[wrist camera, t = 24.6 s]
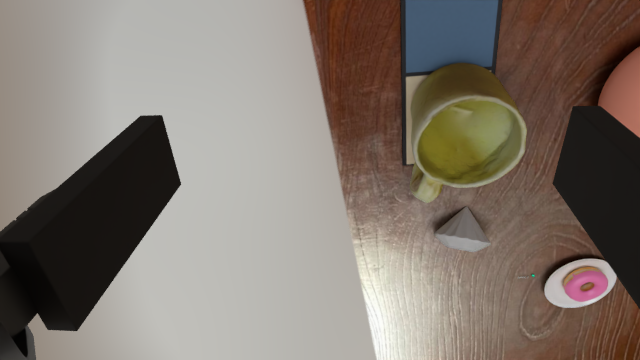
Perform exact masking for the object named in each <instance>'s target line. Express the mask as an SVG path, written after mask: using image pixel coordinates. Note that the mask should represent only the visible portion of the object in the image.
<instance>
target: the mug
mask: <svg viewBox="0 0 640 360" xmlns="http://www.w3.org/2000/svg"><path fill="white" fill-rule="evenodd" d="M411 117H412V131H411V144H412V152H413V157H414V160H415V163H414V167H413V170H412V178H411V182H410V189H411V191H412V193H413V194H414V196H415V197H416V198H418V199H419V200H421V201H423V202H425V203H429V202H431V201H432V200H434V199H435V198H436V197H437V196H438V195H439V194H440V193H441V190H442V186H443V184H445V185H449V186H452V187H456V188H470V187H479V186H483V185H486V184H489V183H491V182H493V181H496V180H497V179H499V178H501V177H502V176H504V175H506V174H507V173H508V172H509V171H511V170H512V169H513V168H514V167H515V166H516V165H517V164H518V162H519V161H520V159H521V158H522V156H523V154H524V152H525V145H526V133H527V129H526V125H525V122H524V119H523V117H522V115H521V114H520V112H519V110H518V108H517V106H516V104H515V102H514V101H513V100H512V99H511V97H510V96H509V94H508V93H507V92H506V90H505V88H504V87H503V86H502V84H501V82H500V81H499V80H498V78H497V77H496V76H495V75H494V74H493V73H492V72H490V71H489V70H487V69H486V68H483V67H481V66H478V65H475V64H470V63H455V64H450V65H447V66H444V67H442V68H439V69H437V70H435V71H434V72H432V73H431V74H430V75H429V76H428V77H427V78H426V79H425V80H424V81H423V82H422V83H421V84H420V85H419V87H418V89H417V90H416V92H415V94H414V97H413V100H412V103H411Z"/></svg>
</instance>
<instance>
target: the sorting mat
mask: <svg viewBox="0 0 640 360" xmlns="http://www.w3.org/2000/svg"><path fill="white" fill-rule="evenodd" d="M501 10H502V0H401V79H402V163H403V165H414V164H407V152H406V77H409V76H423V75H430V74H431V73H432V72H434V71H435V70H437V69H439V68H442V67H444V66H447V65H450V64H455V63H470V64H475V65H478V66H481V67H483V68H486V69H487V70H491V72H492V73H493V74H494V75H495V68H496V59H497V49H498V39H499V30H500V20H501Z"/></svg>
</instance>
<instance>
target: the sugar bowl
mask: <svg viewBox="0 0 640 360" xmlns="http://www.w3.org/2000/svg"><path fill="white" fill-rule="evenodd" d="M598 106H601V107H602V108H603V109H605V110H606V111H607V112H608V113H610V114H611V115H612V116H613V117H615V118H616V119H617V120H618V121H619V122H621V123H622V124H623V125H624V126H626V127H627V128H628V129H629V130H631V131H632V132H633V133H634V134H636V135H637V136H638V137H639V138H640V46H639V47H638V48H636V49H635V50H634V51H632V52H631V53H630V54H629V55H628V56H626V57H625V58H624V59H623V60H622V61H621V62H620V63H619V64H618V66H617V67H616V68H615V69H614V71H613V72H612V73H611V75H610V76H609V78H608V79H607V81H606V83H605V85H604V87H603V89H602V91H601V94H600V97H599V102H598Z"/></svg>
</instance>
